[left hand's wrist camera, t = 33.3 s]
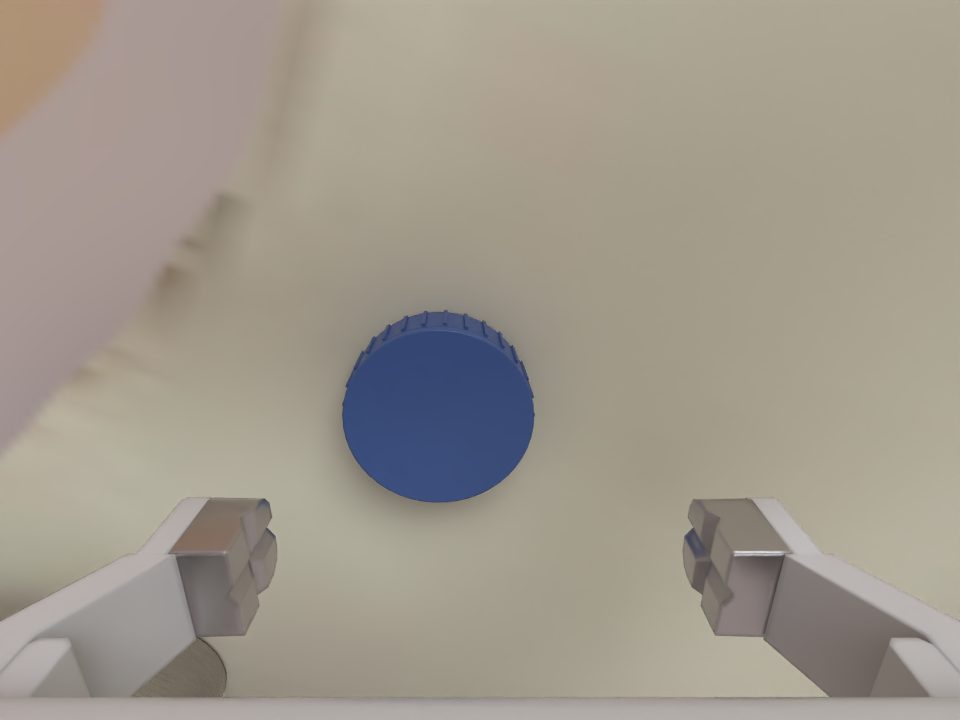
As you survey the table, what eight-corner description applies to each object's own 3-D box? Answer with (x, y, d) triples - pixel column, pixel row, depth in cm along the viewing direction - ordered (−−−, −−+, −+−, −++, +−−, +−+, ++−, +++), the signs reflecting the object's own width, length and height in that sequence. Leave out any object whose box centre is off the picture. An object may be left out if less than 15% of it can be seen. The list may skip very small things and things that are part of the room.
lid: (314, 371, 18) (298, 396, 16) (466, 273, 17) (467, 287, 16) (418, 499, 20) (414, 535, 18) (559, 416, 19) (571, 445, 17)
